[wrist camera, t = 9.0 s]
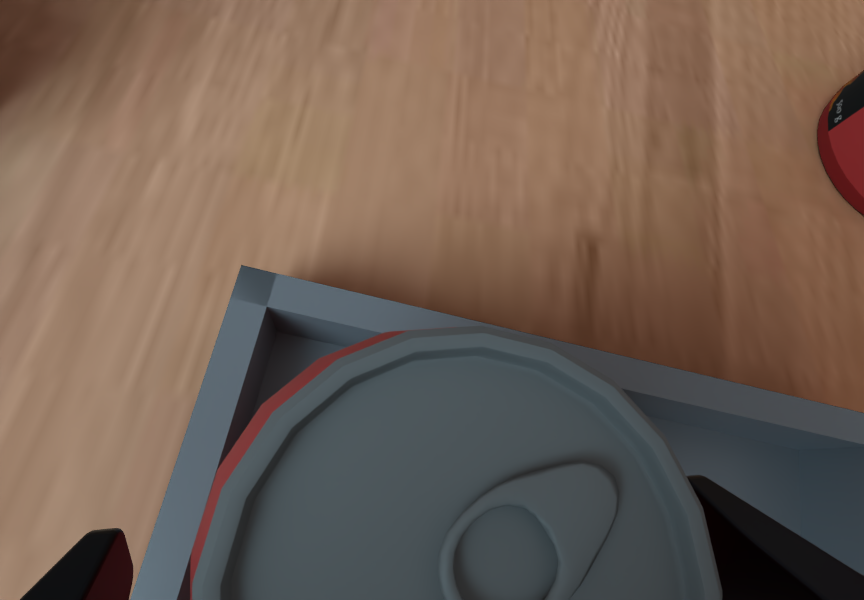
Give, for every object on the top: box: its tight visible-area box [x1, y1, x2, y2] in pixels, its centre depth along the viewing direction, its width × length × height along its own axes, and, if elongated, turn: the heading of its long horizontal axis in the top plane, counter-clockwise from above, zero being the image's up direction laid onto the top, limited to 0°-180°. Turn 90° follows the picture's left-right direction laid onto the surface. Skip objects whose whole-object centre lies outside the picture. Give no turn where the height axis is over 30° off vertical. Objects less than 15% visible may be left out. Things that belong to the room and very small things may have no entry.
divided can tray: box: [130, 265, 864, 600], centre depth 16 cm, size 11×21×4 cm, turn 79°
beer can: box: [190, 326, 722, 600], centre depth 11 cm, size 7×7×12 cm
